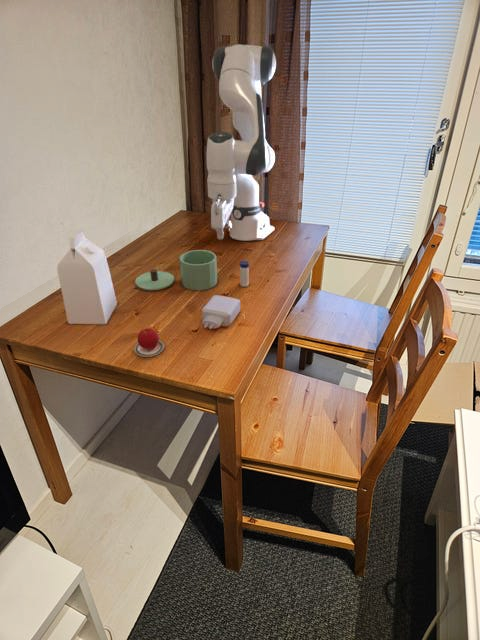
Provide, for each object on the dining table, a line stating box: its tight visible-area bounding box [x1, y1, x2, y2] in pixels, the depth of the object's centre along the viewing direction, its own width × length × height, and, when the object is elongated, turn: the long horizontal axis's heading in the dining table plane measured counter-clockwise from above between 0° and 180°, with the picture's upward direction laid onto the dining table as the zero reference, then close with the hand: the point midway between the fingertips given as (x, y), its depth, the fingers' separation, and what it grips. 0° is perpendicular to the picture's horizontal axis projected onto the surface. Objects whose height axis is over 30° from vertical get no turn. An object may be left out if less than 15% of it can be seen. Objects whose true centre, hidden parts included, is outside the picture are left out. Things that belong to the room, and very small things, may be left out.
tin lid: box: [134, 268, 175, 291], centre depth 145 cm, size 14×14×5 cm
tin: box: [179, 249, 218, 291], centre depth 144 cm, size 13×13×10 cm
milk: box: [56, 230, 118, 325], centre depth 122 cm, size 12×12×26 cm
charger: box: [201, 294, 241, 330], centre depth 123 cm, size 5×9×15 cm
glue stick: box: [239, 260, 250, 288], centre depth 142 cm, size 3×3×8 cm
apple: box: [133, 327, 165, 358], centre depth 111 cm, size 8×8×6 cm
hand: (223, 233), depth 135 cm, fingers open, 8 cm apart
